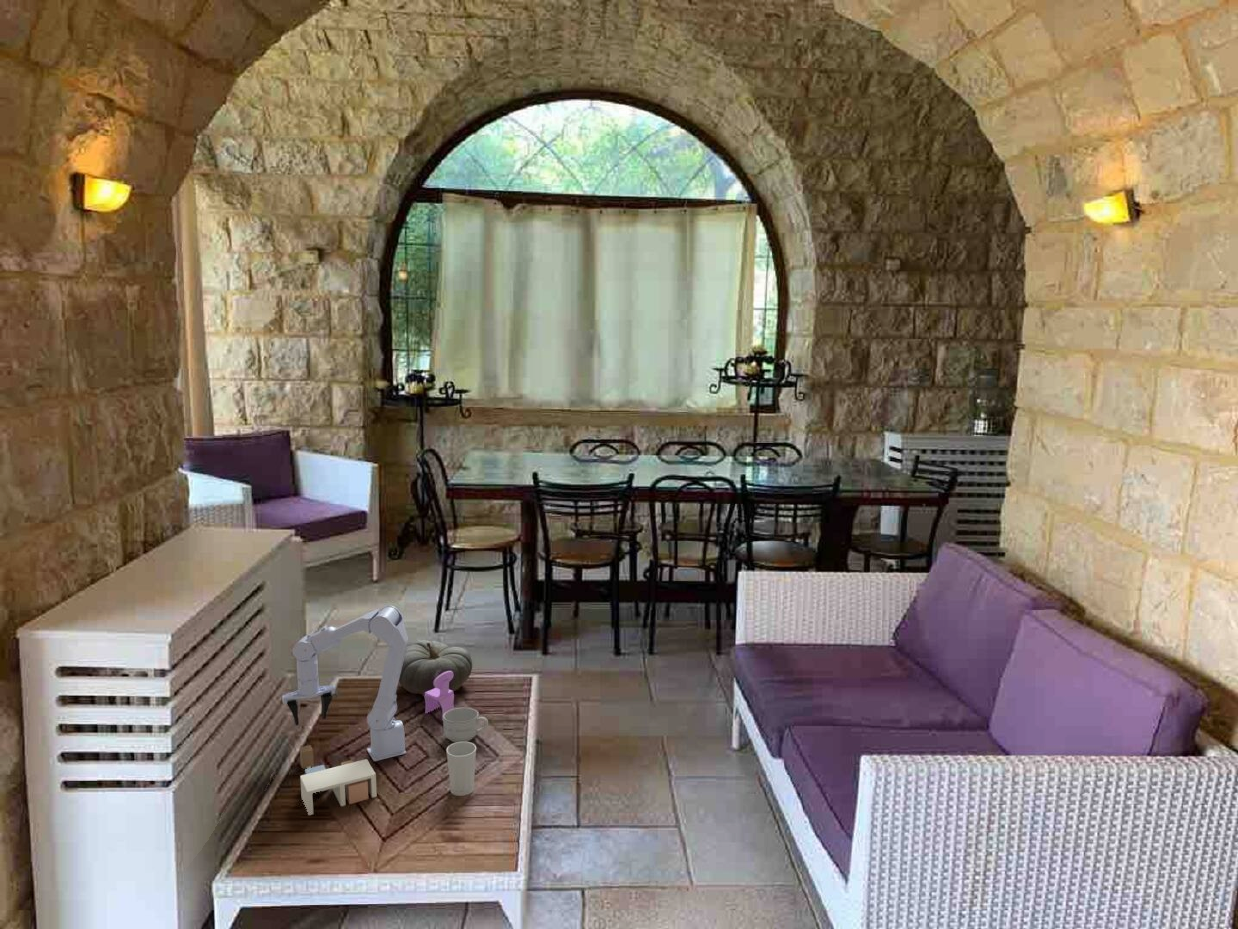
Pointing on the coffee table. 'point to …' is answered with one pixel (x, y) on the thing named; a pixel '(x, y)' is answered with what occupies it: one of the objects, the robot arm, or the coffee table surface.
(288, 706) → the robot arm
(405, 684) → the gourd
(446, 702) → the toy chair
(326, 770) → the shelf
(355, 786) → the tan block
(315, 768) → the tan and blue dumbbell
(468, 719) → the teacup
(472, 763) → the cup
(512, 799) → the coffee table surface
